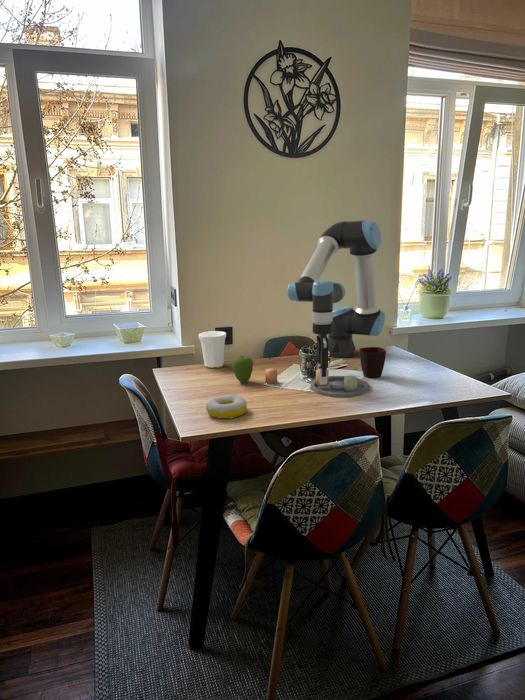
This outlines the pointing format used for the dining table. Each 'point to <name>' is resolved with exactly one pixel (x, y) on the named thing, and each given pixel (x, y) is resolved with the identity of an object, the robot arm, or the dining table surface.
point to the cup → (213, 347)
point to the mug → (372, 361)
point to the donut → (226, 406)
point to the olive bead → (350, 384)
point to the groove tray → (339, 387)
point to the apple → (243, 368)
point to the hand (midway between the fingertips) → (322, 382)
